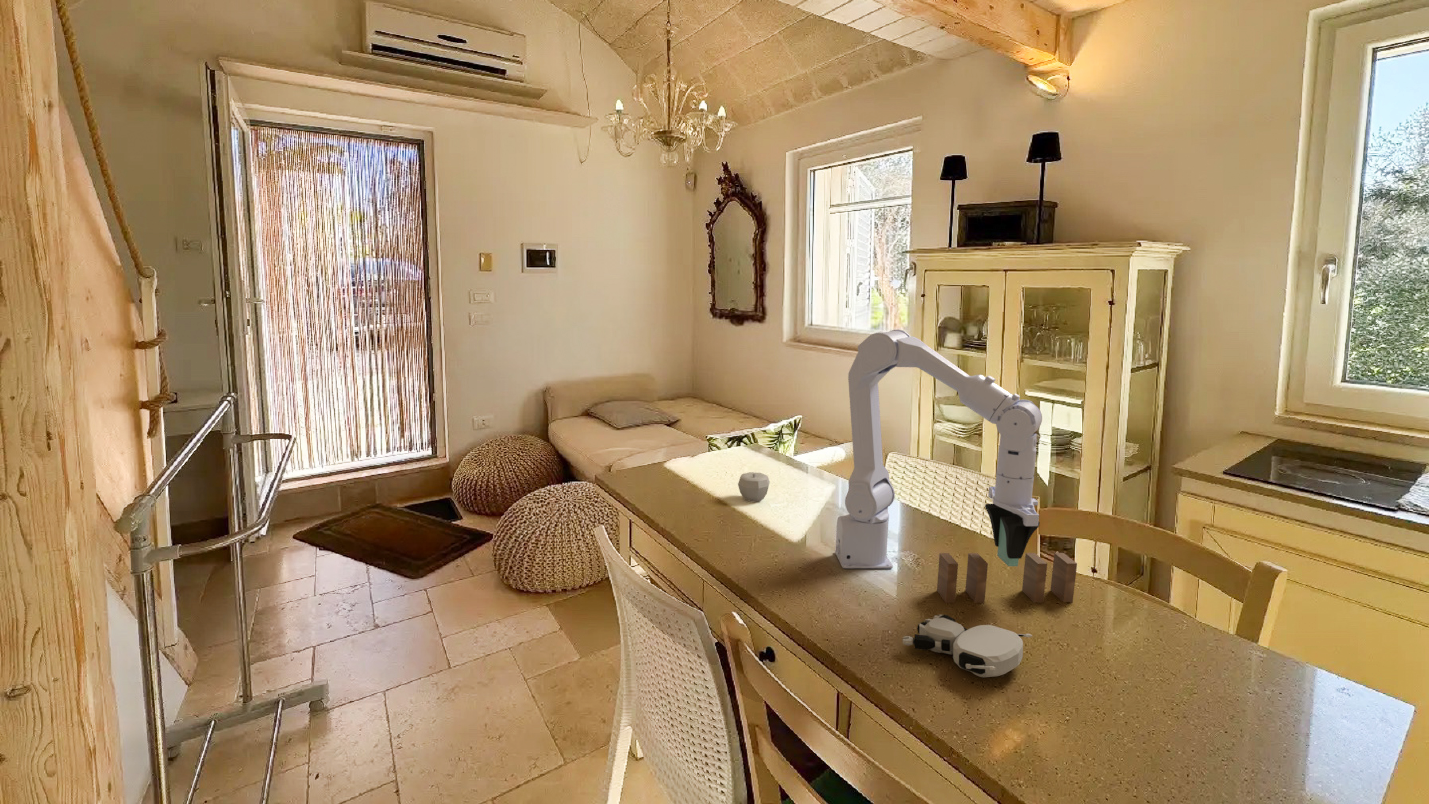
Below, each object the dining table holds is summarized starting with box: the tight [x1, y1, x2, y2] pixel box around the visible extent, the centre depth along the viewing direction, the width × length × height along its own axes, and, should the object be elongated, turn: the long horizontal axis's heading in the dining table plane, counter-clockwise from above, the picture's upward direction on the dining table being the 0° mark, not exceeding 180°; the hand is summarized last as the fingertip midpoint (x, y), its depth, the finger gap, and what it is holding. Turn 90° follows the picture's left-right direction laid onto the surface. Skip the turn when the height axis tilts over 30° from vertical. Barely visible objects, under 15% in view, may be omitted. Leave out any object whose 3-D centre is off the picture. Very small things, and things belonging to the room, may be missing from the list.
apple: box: [737, 471, 770, 503], centre depth 168 cm, size 8×8×7 cm
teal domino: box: [996, 519, 1019, 567], centre depth 117 cm, size 2×4×7 cm, turn 1°
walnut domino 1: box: [936, 552, 959, 604], centre depth 118 cm, size 2×4×7 cm, turn 1°
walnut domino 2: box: [964, 552, 989, 604], centre depth 119 cm, size 2×4×7 cm, turn 1°
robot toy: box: [902, 614, 1033, 678], centre depth 100 cm, size 12×4×15 cm
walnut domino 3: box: [1021, 552, 1048, 604], centre depth 119 cm, size 2×4×7 cm, turn 1°
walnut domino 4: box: [1050, 552, 1078, 603], centre depth 119 cm, size 2×4×7 cm, turn 1°
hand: (1007, 551), depth 118 cm, fingers closed on teal domino, 4 cm apart
